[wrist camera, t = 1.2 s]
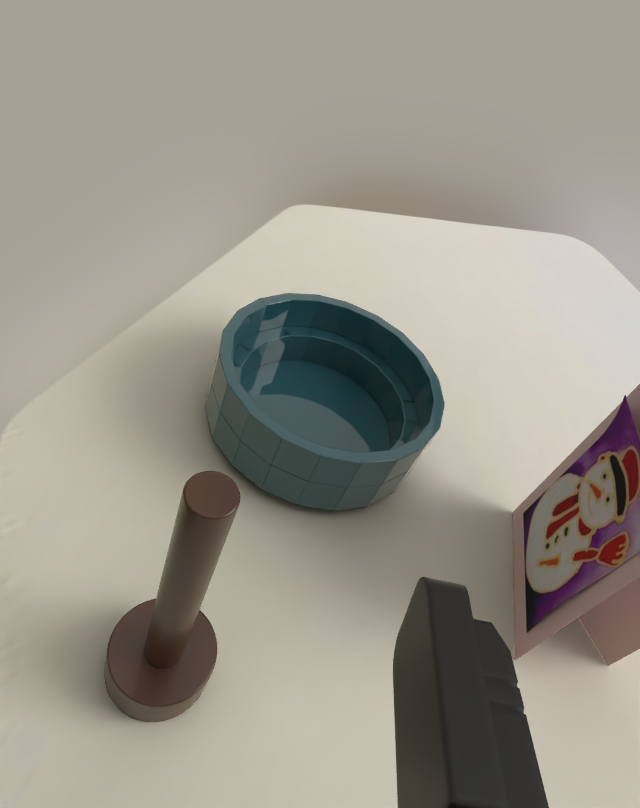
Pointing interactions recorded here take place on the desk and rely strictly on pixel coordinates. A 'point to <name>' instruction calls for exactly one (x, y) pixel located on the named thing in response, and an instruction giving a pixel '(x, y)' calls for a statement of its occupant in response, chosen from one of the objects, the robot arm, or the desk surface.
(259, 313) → the bowl
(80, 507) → the desk surface
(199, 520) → the brown joystick
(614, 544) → the greeting card
